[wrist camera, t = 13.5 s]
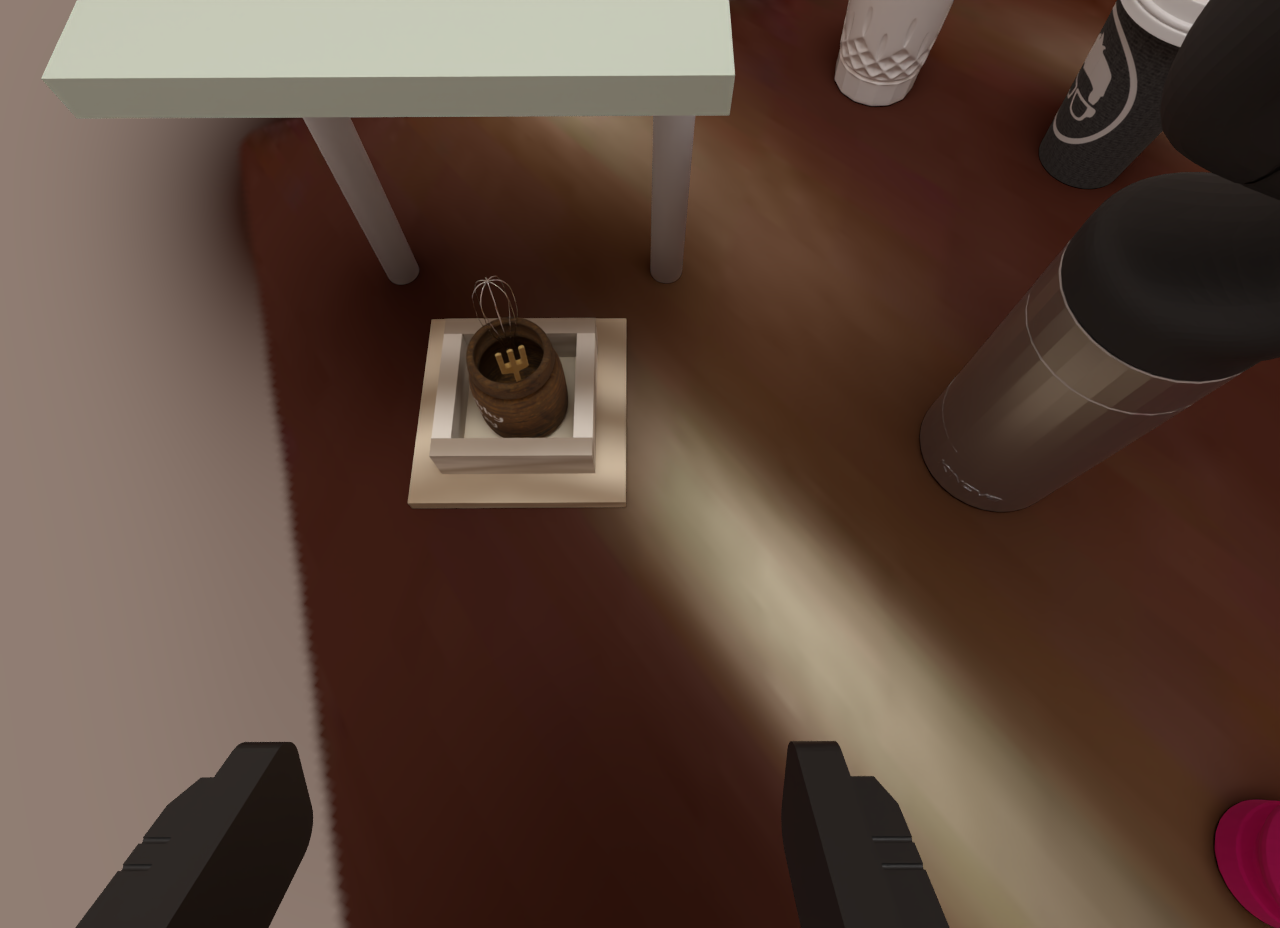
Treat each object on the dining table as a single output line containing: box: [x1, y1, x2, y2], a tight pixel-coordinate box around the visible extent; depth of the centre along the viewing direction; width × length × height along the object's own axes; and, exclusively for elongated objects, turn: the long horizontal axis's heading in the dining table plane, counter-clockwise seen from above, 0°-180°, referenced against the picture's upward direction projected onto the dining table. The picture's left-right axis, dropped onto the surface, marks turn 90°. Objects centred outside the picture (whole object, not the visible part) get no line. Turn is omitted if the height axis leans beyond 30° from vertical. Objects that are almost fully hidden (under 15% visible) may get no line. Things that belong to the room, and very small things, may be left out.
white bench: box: [41, 0, 735, 285], centre depth 38 cm, size 15×22×28 cm
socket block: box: [408, 318, 627, 508], centre depth 46 cm, size 14×14×4 cm
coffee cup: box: [1039, 0, 1209, 189], centre depth 50 cm, size 10×10×15 cm
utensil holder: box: [466, 276, 568, 438], centre depth 42 cm, size 6×6×12 cm
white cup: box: [835, 0, 954, 106], centre depth 56 cm, size 8×8×10 cm
